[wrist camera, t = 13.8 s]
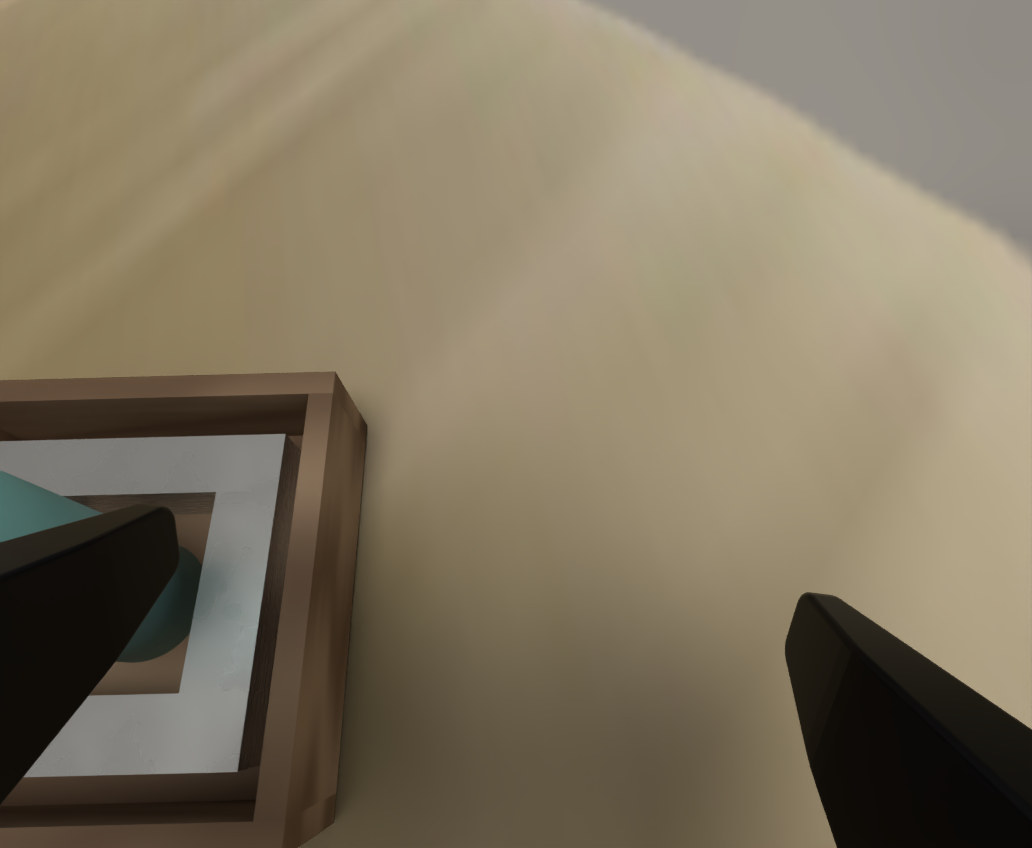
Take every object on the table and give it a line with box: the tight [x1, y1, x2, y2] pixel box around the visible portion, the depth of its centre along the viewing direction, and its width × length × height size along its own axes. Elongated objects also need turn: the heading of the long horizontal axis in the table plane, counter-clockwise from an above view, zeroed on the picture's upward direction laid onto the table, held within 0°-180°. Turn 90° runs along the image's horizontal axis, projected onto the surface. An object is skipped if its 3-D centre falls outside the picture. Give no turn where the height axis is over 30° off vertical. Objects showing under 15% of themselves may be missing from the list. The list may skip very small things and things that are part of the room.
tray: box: [0, 372, 367, 848], centre depth 20 cm, size 14×14×4 cm
